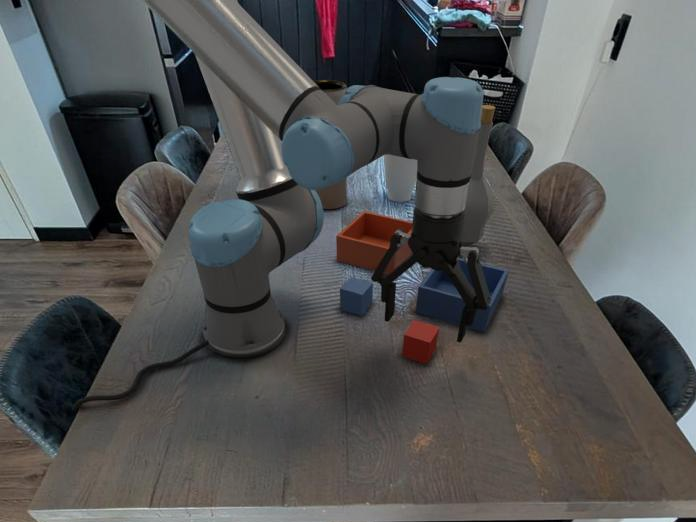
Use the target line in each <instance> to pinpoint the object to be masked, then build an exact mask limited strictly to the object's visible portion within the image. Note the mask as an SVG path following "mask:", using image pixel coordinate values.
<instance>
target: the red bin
mask: <svg viewBox="0 0 696 522" xmlns="http://www.w3.org/2000/svg"><path fill="white" fill-rule="evenodd" d="M412 222H413V221H409V220H405V219H402V218H401V219H400V218H398V217H397V218H395V217H392V216H388V215H383V214H379V213H376V212H371V211H366V210H363V211H362V212H361V213H360V214H359V215H358V216H357V217H355V218H354V219H353V220H352V221H351V222H350V223H349V224H347V226H345V227H344V228H343V229H342V230H341V231H340V232H339V233H338V234H337V235H336V236H335V239H336V240H335V241H336V242H335V243H336V244H335V245H336V261H337V262H341V263H343V264H348V265H352V266H355V267H359V268H363V269H367V270H371V271H374V272H375V270H376V268H377V267H378V265H379V263H380V262H381V260H382V258H383V257H384V255H385V254H386V252H387V250H388V249H389V247H390V242H391V237H392V235H393V234H394V233H395V232H396V231H397V230H398V229H399V228H402V229H403V230H404V233H406V234H409V235H411V234H412ZM411 254H412V251H411V249H410V247H409V246H408V243H405V245H404V246H403V247H400V248H399V249H398V251H397V253H396V254H395V256H394V257H393V259H392V260H391V262H390V264H389V265H388V267H387V268H386V270H385V272H384V274H386V275H388V274H389V273H390V272H391V271H393V270H394V269H395V268H396V267H397V266H399V265H400V264H401V263H402V262H403V261H404V260H406V259H407V258H408V257H409V256H410V255H411Z"/></svg>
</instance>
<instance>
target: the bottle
mask: <svg viewBox="0 0 696 522" xmlns="http://www.w3.org/2000/svg"><path fill="white" fill-rule="evenodd" d="M495 111H496V107H495V106H494V105H492V104H482V112H481V121H480V122H481V127H480V131H479V135H478V140H477V145H476V151H475V156H474V162H473V167H472V172H471V181H470V187H469V193H468V199H467V205H466V208H465V210H464V212H465V217H464V223H463V229H462V235H461V245H462V247H471V246H474V245H477V244H478V243H479V242H480V240H481V239H482V238H483V235H484V231H485V228H486V224H487V223H488V221H489V219H490V217H491V215H492V214H493V212H494V193H493V190H492V189H491V186H490V184H489V183H488V181H487V179H486V177H485V174H484V168H485V159H486V154H487V149H488V144H489V140H490V136H491V131H492V128H493V125H494V122H493V119H494V116H495Z"/></svg>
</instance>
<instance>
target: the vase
mask: <svg viewBox="0 0 696 522" xmlns="http://www.w3.org/2000/svg"><path fill="white" fill-rule="evenodd" d="M312 81H313V82H314V83H315V84H316V85H317V86H318V87H319V88H320V89H321V90H322V91H323V92H324V93H325V94H326V95H327V96H328V97H329V98H330V99H331V100H332V101H333V102H334V103H335V104H336V105H338V104H339V101H340V99H341V97H342V96H344V95H345V91H346V90H347V89H348V87H347V84H346V83H345V82H342V81H339V80H335V79H334V80H331V79H317V80H312ZM347 179H348V177H346V178H345V179H344V180H343V181H342V182H339V183H337V184H334V185H332V186H329V187H327V188H324V189H321V190H315V191H316V193H317V194H318V196H319V198H320V201H321V204H322V207H323V210H337V209H341V208H343V207H345V206H346V205H347V200H348V199H347V198H348V190H347V189H348V188H347V187H348V183H347V181H348V180H347Z"/></svg>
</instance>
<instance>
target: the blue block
mask: <svg viewBox="0 0 696 522" xmlns="http://www.w3.org/2000/svg"><path fill="white" fill-rule="evenodd" d="M373 293H374V282H373V281H368V280H365V279H361V278H356V277H354V276H350V277H349V278H348V279H347V280H346V281H345V282H344V283H343V284H342V285H341V286H340V287H339V310H341V311H344V312H346V313H347V312H348V313H351V314H353V315H357V316H360V317H363V315H364V314H365V313H366V312H367V310H369V308H370V307H371V306H372V304H373Z"/></svg>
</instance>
